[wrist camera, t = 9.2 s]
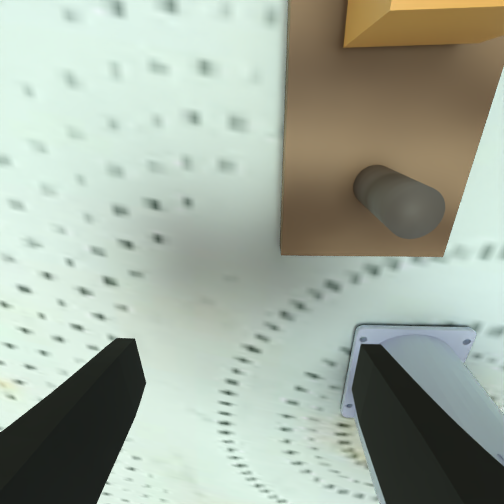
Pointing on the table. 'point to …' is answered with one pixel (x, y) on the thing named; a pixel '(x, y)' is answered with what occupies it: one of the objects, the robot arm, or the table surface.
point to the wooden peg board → (377, 137)
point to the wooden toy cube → (422, 22)
